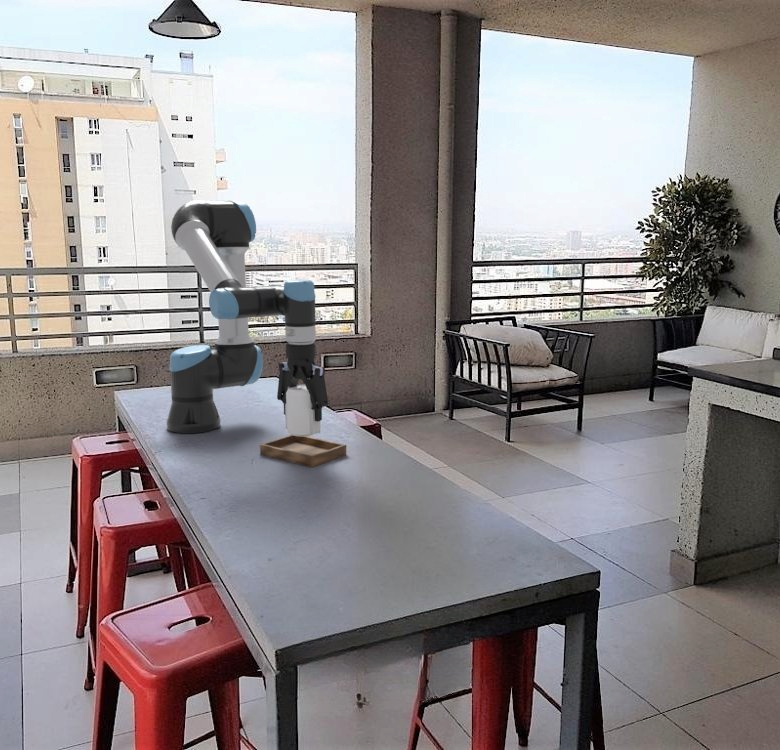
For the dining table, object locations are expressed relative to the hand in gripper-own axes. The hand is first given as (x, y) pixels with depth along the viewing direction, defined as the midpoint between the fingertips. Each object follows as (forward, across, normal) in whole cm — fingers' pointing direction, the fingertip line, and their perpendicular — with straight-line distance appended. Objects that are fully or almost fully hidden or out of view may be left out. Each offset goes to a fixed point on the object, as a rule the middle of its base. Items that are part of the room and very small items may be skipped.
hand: (302, 430), depth 189 cm
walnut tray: (+6, 0, 0) cm, 6 cm away
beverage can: (+1, 0, 0) cm, 1 cm away
